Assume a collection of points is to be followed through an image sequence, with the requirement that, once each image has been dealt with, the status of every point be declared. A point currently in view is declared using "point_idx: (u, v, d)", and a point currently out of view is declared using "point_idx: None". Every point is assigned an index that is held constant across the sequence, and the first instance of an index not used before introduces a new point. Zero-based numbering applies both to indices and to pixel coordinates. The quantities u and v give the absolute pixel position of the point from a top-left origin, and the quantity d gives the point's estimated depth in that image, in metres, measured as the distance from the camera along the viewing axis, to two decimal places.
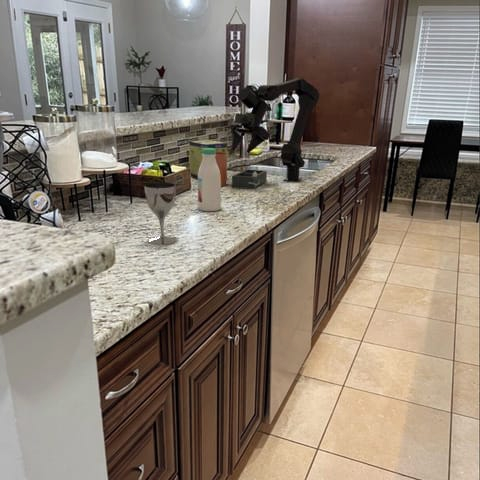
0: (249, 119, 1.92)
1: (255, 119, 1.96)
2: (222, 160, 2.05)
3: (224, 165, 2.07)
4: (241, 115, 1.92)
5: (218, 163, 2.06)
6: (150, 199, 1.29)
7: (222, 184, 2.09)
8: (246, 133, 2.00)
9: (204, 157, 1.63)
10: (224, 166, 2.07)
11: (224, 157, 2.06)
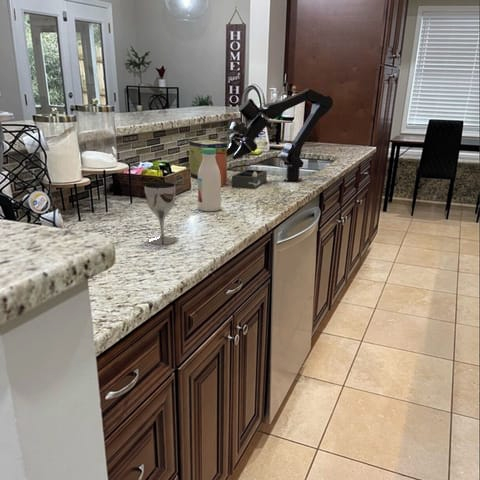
0: (241, 128, 2.02)
1: (250, 131, 2.06)
2: (222, 160, 2.05)
3: (224, 165, 2.07)
4: (235, 123, 2.03)
5: (218, 163, 2.06)
6: (150, 199, 1.29)
7: (222, 184, 2.09)
8: None
9: (204, 157, 1.63)
10: (224, 166, 2.07)
11: (224, 157, 2.06)
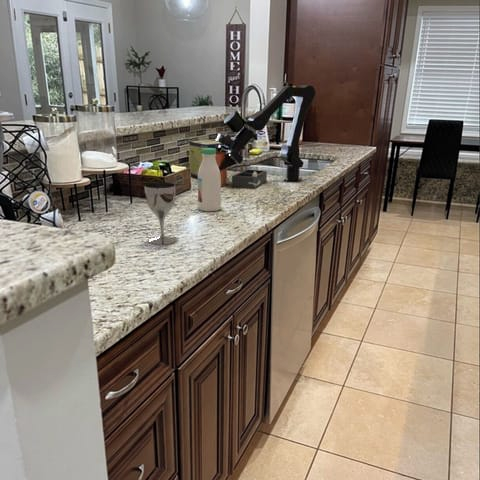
0: (226, 140, 2.02)
1: (236, 143, 2.06)
2: (222, 160, 2.05)
3: None
4: (221, 135, 2.03)
5: (218, 163, 2.06)
6: (150, 199, 1.29)
7: (222, 184, 2.09)
8: None
9: (204, 157, 1.63)
10: None
11: (224, 157, 2.06)
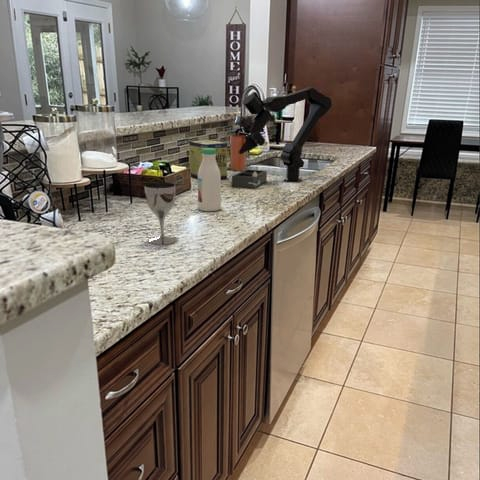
0: (248, 122, 1.98)
1: (255, 125, 2.03)
2: (243, 143, 2.02)
3: None
4: (241, 117, 1.99)
5: (239, 146, 2.02)
6: (150, 199, 1.29)
7: (243, 167, 2.06)
8: None
9: (204, 157, 1.63)
10: None
11: (244, 140, 2.02)
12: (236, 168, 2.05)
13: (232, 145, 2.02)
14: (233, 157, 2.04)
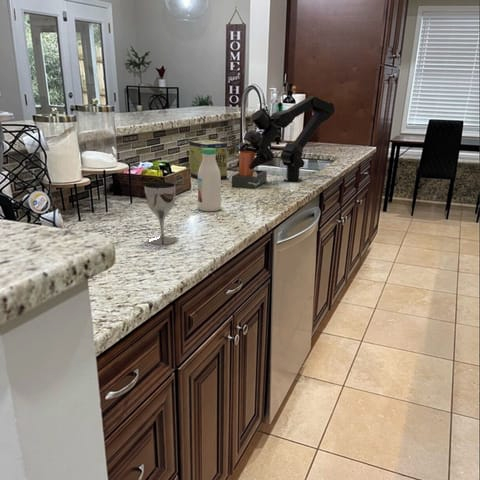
0: (257, 138, 2.01)
1: (263, 140, 2.05)
2: (252, 159, 2.04)
3: None
4: (250, 133, 2.01)
5: (248, 162, 2.04)
6: (150, 199, 1.29)
7: None
8: None
9: (204, 157, 1.63)
10: None
11: (253, 156, 2.05)
12: None
13: (241, 161, 2.05)
14: (242, 173, 2.06)
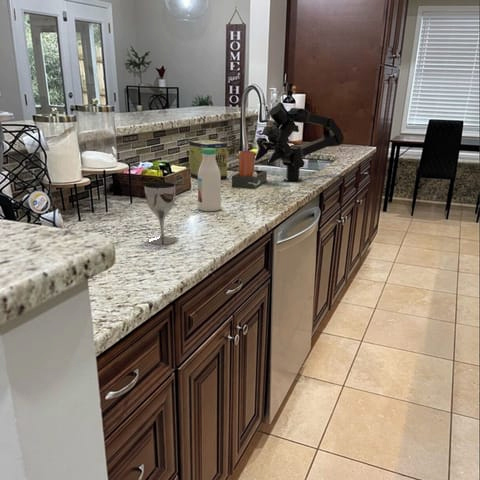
0: (275, 133, 2.05)
1: (281, 135, 2.09)
2: (252, 159, 2.04)
3: (253, 164, 2.06)
4: (269, 128, 2.05)
5: (248, 162, 2.04)
6: (150, 199, 1.29)
7: None
8: (271, 147, 2.13)
9: (204, 157, 1.63)
10: (253, 165, 2.06)
11: (253, 156, 2.05)
12: None
13: (241, 161, 2.05)
14: (242, 173, 2.06)
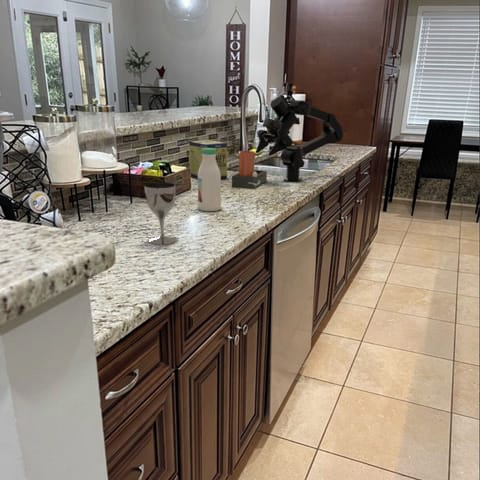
0: (276, 125, 2.04)
1: (282, 127, 2.08)
2: (252, 159, 2.04)
3: (253, 164, 2.06)
4: (269, 120, 2.04)
5: (248, 162, 2.04)
6: (150, 199, 1.29)
7: None
8: (272, 139, 2.12)
9: (204, 157, 1.63)
10: (253, 165, 2.06)
11: (253, 156, 2.05)
12: None
13: (241, 161, 2.05)
14: (242, 173, 2.06)
